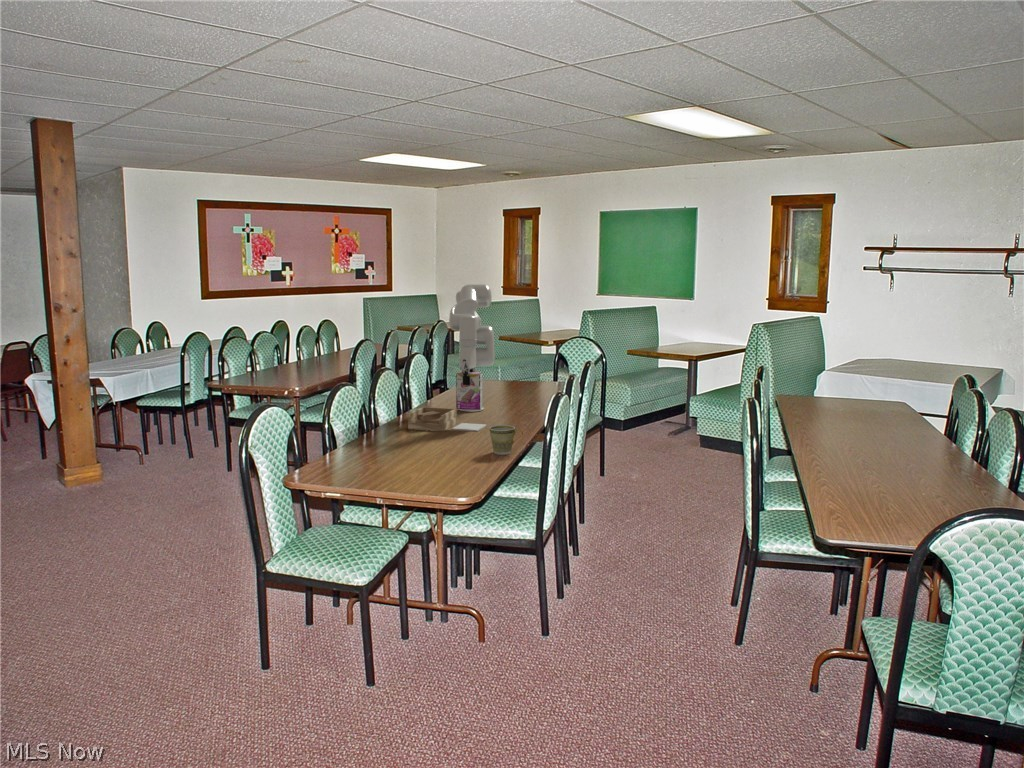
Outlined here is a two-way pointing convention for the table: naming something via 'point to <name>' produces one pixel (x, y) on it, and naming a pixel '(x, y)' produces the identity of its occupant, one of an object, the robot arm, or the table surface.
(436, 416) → the offcut top
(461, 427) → the mat
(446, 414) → the rack
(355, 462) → the table surface
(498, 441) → the ceramic cup
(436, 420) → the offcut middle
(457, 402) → the candy bar box
